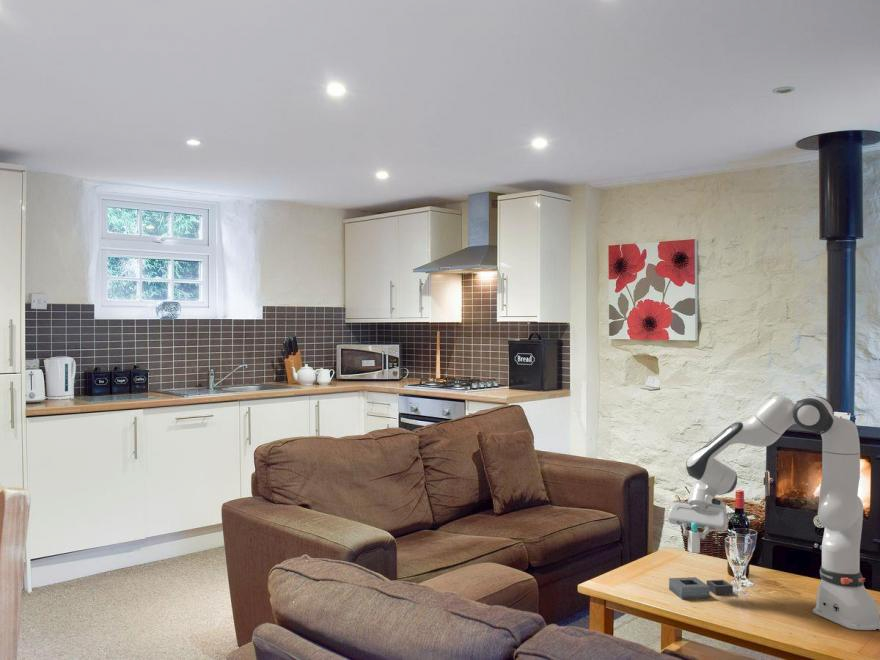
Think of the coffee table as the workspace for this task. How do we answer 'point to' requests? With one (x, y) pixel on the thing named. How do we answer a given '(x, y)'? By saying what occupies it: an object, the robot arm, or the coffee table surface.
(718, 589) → the holster
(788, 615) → the coffee table surface
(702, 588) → the port block
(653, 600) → the coffee table surface
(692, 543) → the plug
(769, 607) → the coffee table surface
